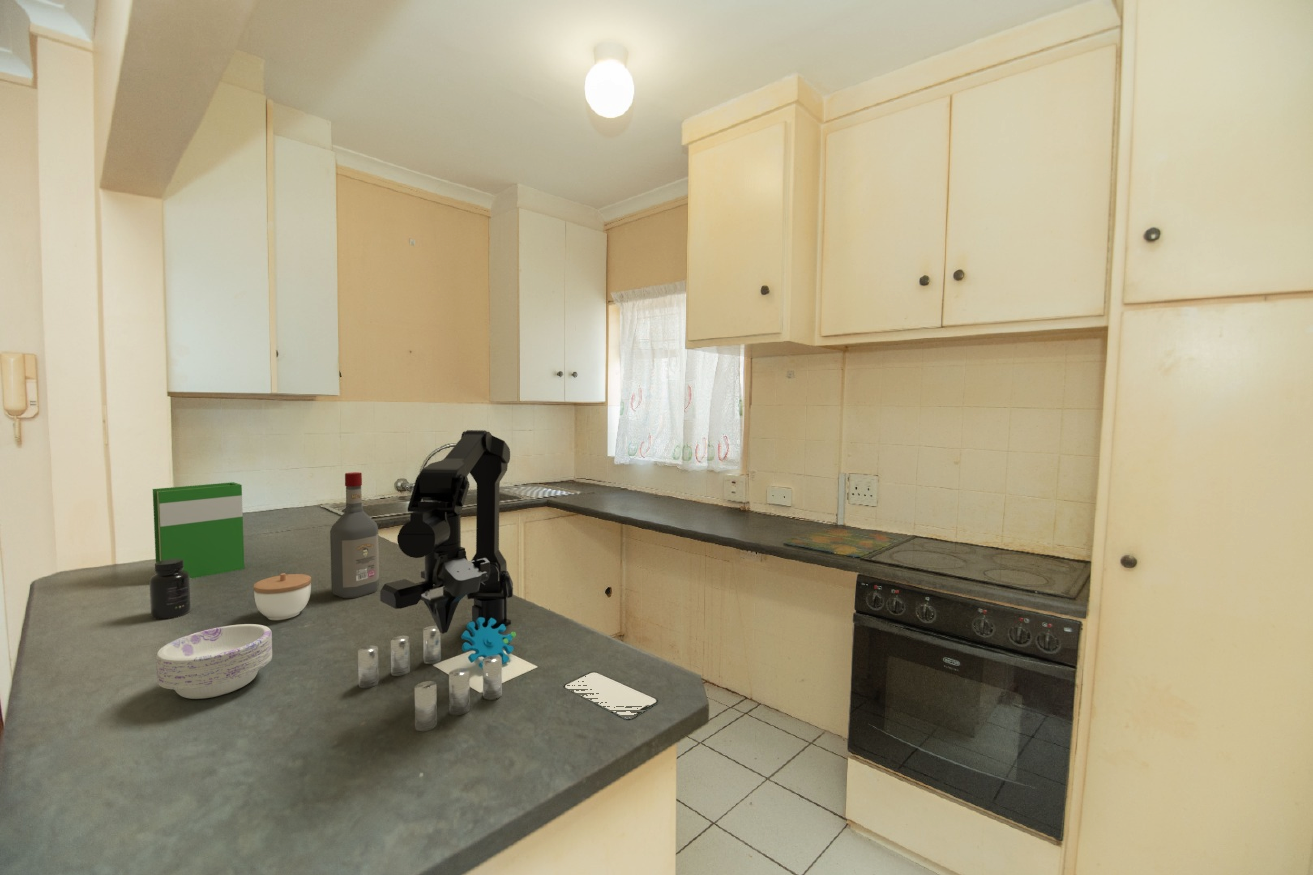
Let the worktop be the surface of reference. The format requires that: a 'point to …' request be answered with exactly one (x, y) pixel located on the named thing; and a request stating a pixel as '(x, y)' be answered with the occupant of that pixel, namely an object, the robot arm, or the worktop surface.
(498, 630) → the gear
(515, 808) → the worktop surface
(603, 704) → the smartphone
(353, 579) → the liquor
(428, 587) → the robot arm
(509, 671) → the pad
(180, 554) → the hardback book
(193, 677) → the paper bowls
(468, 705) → the posts
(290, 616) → the lidded jar
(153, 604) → the supplement bottle
